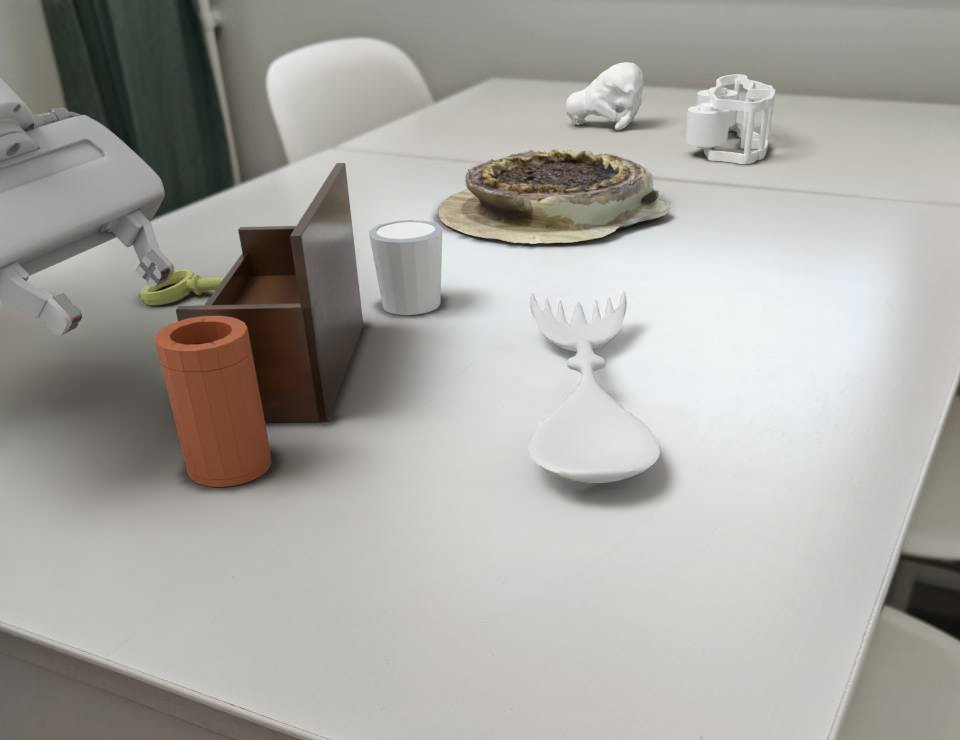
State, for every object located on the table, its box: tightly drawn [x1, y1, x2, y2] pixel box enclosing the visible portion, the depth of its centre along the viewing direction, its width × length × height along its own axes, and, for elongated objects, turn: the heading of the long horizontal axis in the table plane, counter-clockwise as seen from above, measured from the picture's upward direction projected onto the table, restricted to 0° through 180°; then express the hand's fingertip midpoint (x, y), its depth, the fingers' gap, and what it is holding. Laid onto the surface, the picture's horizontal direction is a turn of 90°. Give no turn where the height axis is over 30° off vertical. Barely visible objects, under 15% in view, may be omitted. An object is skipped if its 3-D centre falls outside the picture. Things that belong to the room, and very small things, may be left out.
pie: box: [438, 149, 671, 245], centre depth 119 cm, size 28×27×5 cm
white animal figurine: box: [565, 61, 645, 131], centre depth 152 cm, size 6×8×12 cm
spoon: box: [528, 290, 661, 484], centre depth 78 cm, size 9×32×4 cm, turn 178°
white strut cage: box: [684, 73, 776, 165], centre depth 139 cm, size 20×11×7 cm, turn 164°
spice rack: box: [175, 162, 364, 423], centre depth 81 cm, size 10×20×14 cm, turn 177°
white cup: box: [368, 219, 443, 316], centre depth 95 cm, size 7×7×7 cm
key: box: [140, 268, 225, 306], centre depth 101 cm, size 7×12×2 cm, turn 96°
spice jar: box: [153, 316, 272, 488], centre depth 69 cm, size 6×6×10 cm
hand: (120, 301), depth 68 cm, fingers open, 8 cm apart
